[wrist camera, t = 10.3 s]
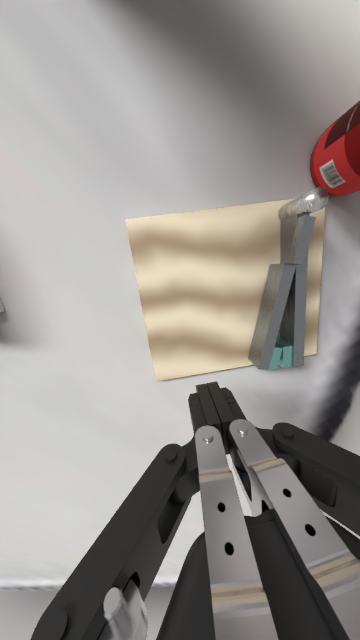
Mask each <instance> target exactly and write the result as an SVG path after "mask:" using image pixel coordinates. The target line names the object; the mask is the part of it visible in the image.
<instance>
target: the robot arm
mask: <svg viewBox="0 0 360 640" xmlns="http://www.w3.org/2000/svg"><path fill="white" fill-rule="evenodd" d="M196 391H197V393H194V394H190V396H189V399H188V401H189V408H190V414H191V420H192V425H193V430H194V436H193V438H192V440H191V441H190V442H189V443H188V444H186V445H184V446H182V447H181V446H180V445H178V444H169V445H166V446H165V447H163V448H162V449H161V450H160V452H159V453H158V455H157V456H156V457H155V459H154V460H153V461H152V463H151V464H150V466H149V467H148V468H147V470H146V471H145V473H144V474H143V475H142V477H141V478H140V480H139V481H138V482H137V484H136V485H135V486H134V488H133V489H132V491H131V492H130V493H129V495H128V496H127V498H126V499H125V500H124V502H123V503H122V505H121V506H120V507H119V509H118V510H117V511H116V513H115V514H114V516H113V517H112V518H111V520H110V521H109V523H108V524H107V525H106V527H105V528H104V530H103V531H102V532H101V534H100V535H99V536H98V538H97V539H96V541H95V542H94V543H93V545H92V546H91V548H90V549H89V550H88V552H87V553H86V555H85V556H84V557H83V559H82V560H81V561H80V563H79V564H78V566H77V567H76V568H75V570H74V571H73V573H72V574H71V575H70V577H69V578H68V580H67V581H66V582H65V584H64V585H63V586H62V588H61V589H60V591H59V592H58V593H57V595H56V596H55V598H54V599H53V600H52V602H51V603H50V605H49V606H48V607H47V609H46V610H45V612H44V613H43V615H42V617H41V618H40V620H39V622H38V624H37V626H36V628H35V630H34V633H33V635H32V638H31V640H146V637H147V628H148V626H147V625H148V620H147V612H146V609H145V606H144V600H145V598H146V596H147V594H148V592H149V589H150V587H151V585H152V583H153V581H154V579H155V577H156V574H157V572H158V570H159V568H160V566H161V564H162V561H163V559H164V557H165V555H166V553H167V551H168V548H169V546H170V544H171V542H172V540H173V538H174V536H175V533H176V531H177V529H178V527H179V525H180V523H181V520H182V518H183V516H184V514H185V512H186V510H187V507H188V505H189V503H190V501H191V497H192V496H193V495H194V494H195V493H197V492H198V491H200V492H201V502H202V511H203V520H204V530H205V531H204V532H203V533H202V534H201V535H199V537H198V538H197V539H196V540H195V542H194V543H193V545H192V546H191V548H190V550H189V552H188V554H187V556H186V559H185V561H184V564H183V567H182V569H181V572H180V575H179V578H178V581H177V583H176V586H175V589H174V592H173V595H172V597H171V600H170V603H169V605H168V608H167V611H166V614H165V616H164V619H163V623H162V625H161V628H160V630H159V633H158V636H157V639H156V640H360V539H358V538H357V537H356V536H354V535H353V534H351V533H350V532H349V531H347V530H346V529H345V528H343V527H342V526H340V525H339V524H338V523H336V522H335V521H333V520H332V519H330V518H328V517H326V516H325V515H323V513H322V512H321V510H322V511H324V512H325V513H327V514H328V515H330V516H331V517H333V518H334V519H335V520H337V521H338V522H340V523H342V524H343V525H345V526H346V527H347V528H349V529H350V530H352V531H353V532H354V533H356V534H357V535H359V536H360V456H358V455H356V454H354V453H352V452H350V451H347V450H345V449H343V448H341V447H339V446H337V445H335V444H332V443H330V442H328V441H326V440H324V439H322V438H319V437H317V436H315V435H313V434H311V433H309V432H307V431H304V430H302V429H300V428H298V427H296V426H294V425H291V424H288V423H277V424H275V425H274V426H273V430H269V429H260V428H257V427H255V426H254V425H253V424H252V423H251V422H249V421H247V419H246V418H245V416H244V414H243V412H242V410H241V409H240V407H239V405H238V403H237V401H236V400H235V398H234V396H233V394H232V392H231V391H230V390H228V389H227V388H220V387H219V385H218V383H217V382H211V383H207V384H201V385H196ZM227 454H230V455H231V458H232V464H233V469H234V471H235V474H236V476H237V478H238V481H239V483H240V485H241V487H242V490H243V492H244V494H245V497H246V499H247V501H248V504H249V506H250V509H251V512H252V516H253V517H251V516H244V515H243V512H242V508H241V504H240V500H239V497H238V493H237V489H236V485H235V482H234V478H233V475H232V472H231V471H230V469H229V465H228V462H227V458H226V455H227ZM316 470H317V471H316ZM323 474H324V475H323ZM320 509H321V510H320Z"/></svg>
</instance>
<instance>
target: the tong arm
mask: <svg viewBox="0 0 360 640" xmlns="http://www.w3.org/2000/svg"><path fill="white" fill-rule="evenodd" d="M315 220H316V217H312V216H307V215H304V216H302V217H299V218H298V221H297V225H296V229H295V233H294V237H293V241H292V245H291V248H290V252H289V256H288V260H287V264H286V263H281V264H270V266H269V270H268V275H267V279H266V283H265V287H264V292H263V296H262V300H261V304H260V309H259V313H258V317H257V322H256V326H255V330H254V334H253V339H252V343H251V347H250V351H249V356H248V359H249V360H250V361H251V362H252V363H253V364H254V365H255V366H256V367H257V368H258V369H267V370H268V369H276V370H277V367H278V364H279V360H280V356H281V353H282V349H283V348H282V347H280V346H279V345H277V344H276V339H277V335H278V332H279V328H280V324H281V320H282V317H283V313H284V309H285V305H286V302H287V298H288V294H289V290H290V287H291V283H292V279H293V275H294V272H295V268H296V265H303V263H304V260H305V256H306V252H307V249H308V245H309V241H310V238H311V234H312V230H313V227H314V223H315ZM293 264H294V265H293Z"/></svg>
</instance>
